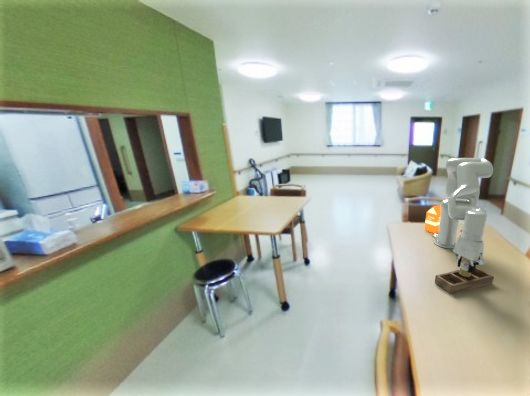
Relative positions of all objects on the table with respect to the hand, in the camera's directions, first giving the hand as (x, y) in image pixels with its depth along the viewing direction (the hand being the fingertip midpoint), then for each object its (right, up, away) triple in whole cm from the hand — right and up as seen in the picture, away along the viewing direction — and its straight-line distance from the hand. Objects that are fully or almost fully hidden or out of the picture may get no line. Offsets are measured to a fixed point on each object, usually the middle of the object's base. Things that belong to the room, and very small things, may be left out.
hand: (465, 268), depth 115 cm
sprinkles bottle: (0, -3, +1) cm, 4 cm away
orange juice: (+29, +10, +61) cm, 68 cm away
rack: (+1, -8, +2) cm, 9 cm away
